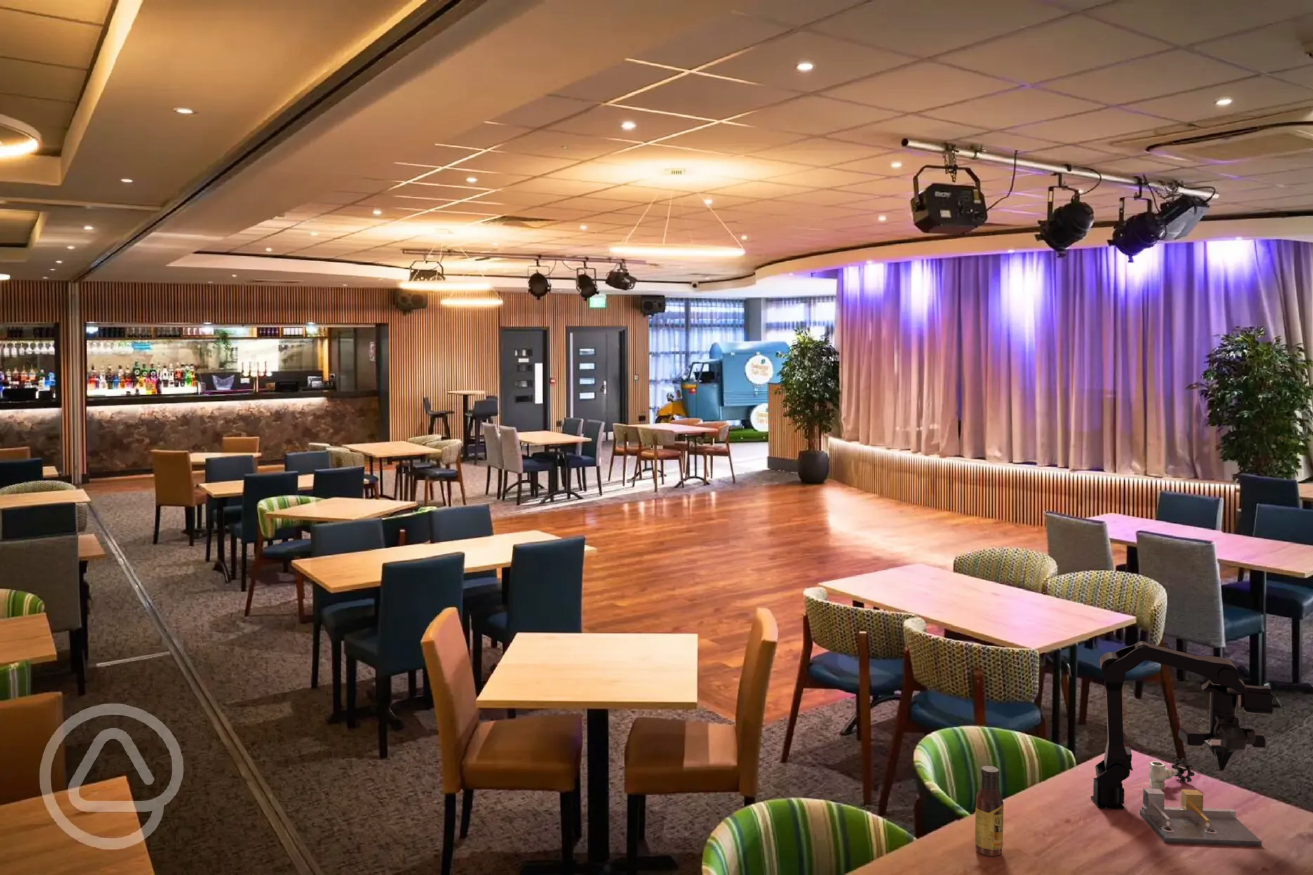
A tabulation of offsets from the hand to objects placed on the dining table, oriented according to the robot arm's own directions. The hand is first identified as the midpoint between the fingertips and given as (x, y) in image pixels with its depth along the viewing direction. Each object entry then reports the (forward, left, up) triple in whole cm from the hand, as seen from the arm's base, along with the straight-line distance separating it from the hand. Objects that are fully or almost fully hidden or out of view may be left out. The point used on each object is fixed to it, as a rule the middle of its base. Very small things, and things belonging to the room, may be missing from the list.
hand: (1220, 770), depth 242 cm
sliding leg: (-7, -4, -11) cm, 14 cm away
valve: (-4, +21, -13) cm, 25 cm away
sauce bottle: (-62, -21, -13) cm, 66 cm away
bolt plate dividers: (-8, -6, -13) cm, 16 cm away
